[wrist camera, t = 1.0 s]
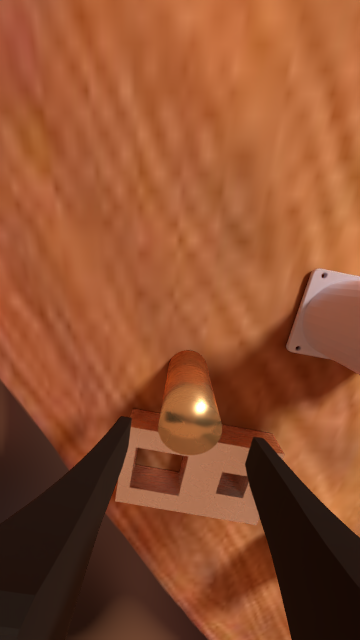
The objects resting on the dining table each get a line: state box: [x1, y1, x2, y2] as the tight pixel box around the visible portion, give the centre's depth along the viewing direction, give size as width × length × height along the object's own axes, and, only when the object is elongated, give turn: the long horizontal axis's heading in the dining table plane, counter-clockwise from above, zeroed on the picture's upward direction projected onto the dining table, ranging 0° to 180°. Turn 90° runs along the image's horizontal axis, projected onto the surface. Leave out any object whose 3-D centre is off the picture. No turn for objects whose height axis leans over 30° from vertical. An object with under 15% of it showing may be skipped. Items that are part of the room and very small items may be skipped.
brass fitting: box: [158, 350, 222, 455], centre depth 16 cm, size 4×4×8 cm
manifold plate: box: [115, 409, 284, 525], centre depth 21 cm, size 16×10×2 cm, turn 79°
